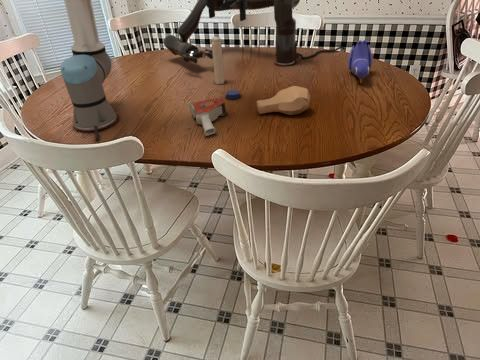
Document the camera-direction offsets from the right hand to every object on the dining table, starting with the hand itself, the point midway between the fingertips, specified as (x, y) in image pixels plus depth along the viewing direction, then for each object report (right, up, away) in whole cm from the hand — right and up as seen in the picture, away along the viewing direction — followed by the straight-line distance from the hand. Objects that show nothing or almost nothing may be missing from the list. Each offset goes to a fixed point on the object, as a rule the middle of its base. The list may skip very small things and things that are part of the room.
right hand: (204, 58), depth 163 cm
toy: (+69, -11, -7) cm, 70 cm away
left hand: (+12, +2, -35) cm, 37 cm away
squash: (+33, -31, -31) cm, 54 cm away
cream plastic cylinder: (+7, -12, -3) cm, 14 cm away
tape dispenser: (+4, -35, -34) cm, 49 cm away
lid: (+13, -20, -18) cm, 30 cm away
